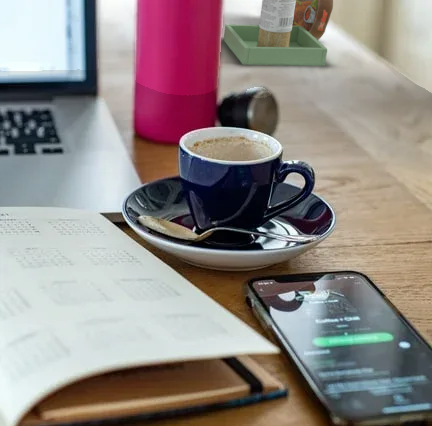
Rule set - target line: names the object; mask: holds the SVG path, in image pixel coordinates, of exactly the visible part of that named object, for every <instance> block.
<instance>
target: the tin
mask: <svg viewBox="0 0 432 426" xmlns="http://www.w3.org/2000/svg"><path fill="white" fill-rule="evenodd" d="M333 8H334V0H296V3H295V10H294V17H293V24H292V26H302V27H303V28H305V29H306V30H307V31H308V32H309V33H310V34H311V35H312V36H313V37H315V38H316V39H317V40H318V41H319V40H320V39H321V38H322V37H323V36H324V34H325V33H326V30H327V26H328V23H329V21H330V18H331V14H332V13H333Z"/></svg>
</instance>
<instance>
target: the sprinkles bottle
mask: <svg viewBox="0 0 432 426" xmlns="http://www.w3.org/2000/svg"><path fill="white" fill-rule="evenodd" d="M295 3H296V0H261V8H260V17H259V24H258V25H259V36H258V44H257V46H256V47H289V41H290V33H291V30H292V24H293V17H294V10H295Z"/></svg>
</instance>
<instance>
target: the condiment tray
mask: <svg viewBox="0 0 432 426" xmlns="http://www.w3.org/2000/svg"><path fill="white" fill-rule="evenodd" d="M258 36H259V24H224V35H223V42H224V43H225V44H226V45H227V47H228V48H229V49H230V50H231V52H232V53H233V54H234V55H235V57H236V58H237V60H239V62H240V63H241V64H242V66H243V65H245V66H246V65H247V66H318V67H319V66H320V67H321V66H323V67H324V66H326V62H327V54H328V48H327V47H326V46H325V45H324V44H323V43H321V41H319V40H317V39H316V38H315V37H313V36H312V35H311V34H310V33H309V32H308V31H307V30H306V29H305V28H303V27H302V26H292V30H291V33H290V41H289V47H256V46H257V44H258Z"/></svg>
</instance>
